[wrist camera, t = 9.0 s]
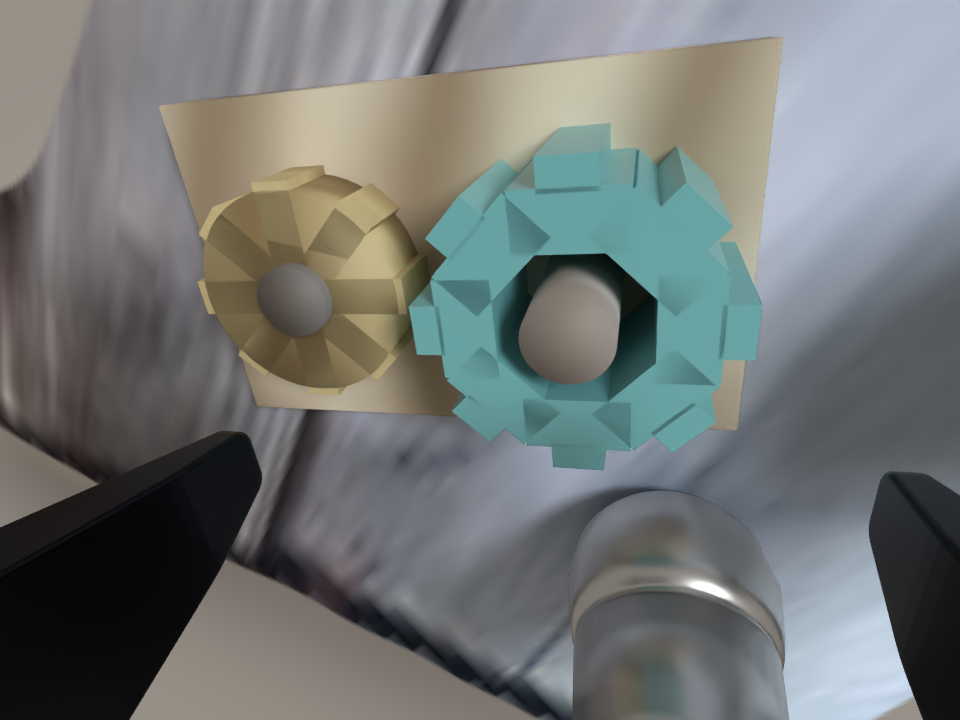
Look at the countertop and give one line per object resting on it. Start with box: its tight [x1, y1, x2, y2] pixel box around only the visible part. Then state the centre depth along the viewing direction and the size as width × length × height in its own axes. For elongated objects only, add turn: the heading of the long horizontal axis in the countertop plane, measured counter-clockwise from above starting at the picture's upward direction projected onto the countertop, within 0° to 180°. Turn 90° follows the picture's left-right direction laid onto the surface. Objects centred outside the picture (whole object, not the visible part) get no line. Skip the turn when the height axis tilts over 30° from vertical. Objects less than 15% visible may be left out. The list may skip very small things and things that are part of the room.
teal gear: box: [409, 123, 762, 470], centre depth 14 cm, size 7×7×4 cm
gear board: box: [159, 37, 783, 430], centre depth 16 cm, size 16×10×6 cm, turn 96°
